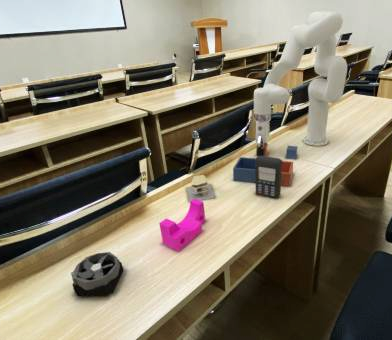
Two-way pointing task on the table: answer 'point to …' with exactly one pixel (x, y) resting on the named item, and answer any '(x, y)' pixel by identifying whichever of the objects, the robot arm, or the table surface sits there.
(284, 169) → the terracotta bin
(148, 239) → the table surface
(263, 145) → the terracotta block
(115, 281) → the cpu cooler
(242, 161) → the slate bin
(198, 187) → the stacked layers on plate
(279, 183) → the card reader
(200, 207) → the toy block
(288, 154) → the slate block
